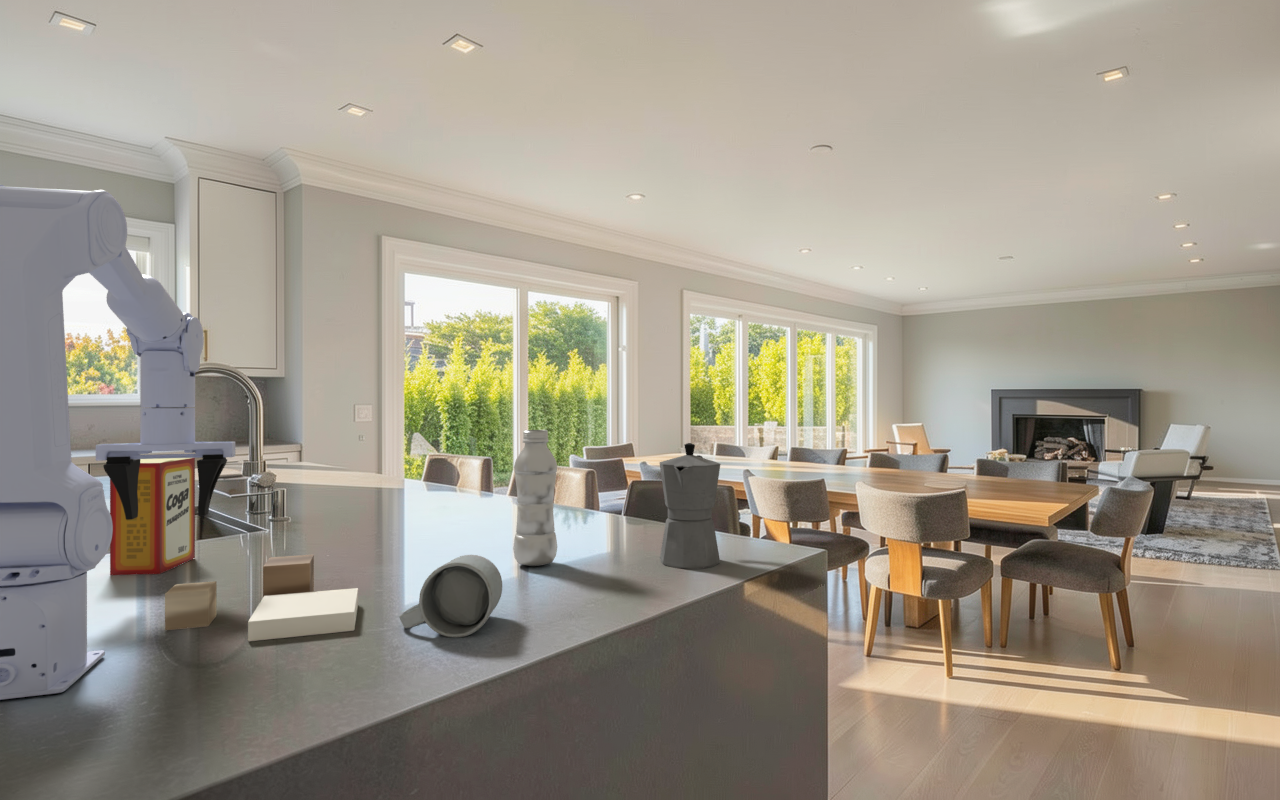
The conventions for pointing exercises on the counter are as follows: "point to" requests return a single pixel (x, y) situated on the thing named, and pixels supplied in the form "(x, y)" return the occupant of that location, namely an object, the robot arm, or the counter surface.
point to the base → (304, 614)
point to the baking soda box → (155, 519)
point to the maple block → (190, 605)
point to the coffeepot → (689, 511)
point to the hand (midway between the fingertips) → (168, 516)
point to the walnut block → (288, 575)
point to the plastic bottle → (535, 501)
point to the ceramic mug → (457, 597)
